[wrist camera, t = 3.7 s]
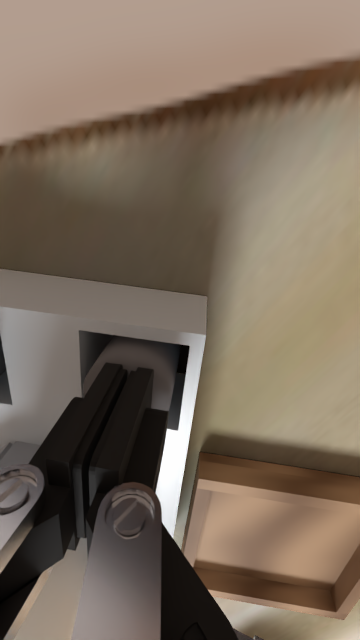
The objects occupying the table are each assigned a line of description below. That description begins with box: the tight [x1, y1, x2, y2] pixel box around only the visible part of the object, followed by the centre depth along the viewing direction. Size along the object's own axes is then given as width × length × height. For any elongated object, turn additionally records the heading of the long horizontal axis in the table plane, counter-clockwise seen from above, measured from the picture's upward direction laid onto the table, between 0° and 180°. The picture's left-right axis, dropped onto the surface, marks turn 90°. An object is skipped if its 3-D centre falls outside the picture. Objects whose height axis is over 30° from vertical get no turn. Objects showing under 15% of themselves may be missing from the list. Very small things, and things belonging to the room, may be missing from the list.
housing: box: [0, 269, 207, 538], centre depth 15 cm, size 12×18×6 cm, turn 174°
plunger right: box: [83, 335, 180, 411], centre depth 12 cm, size 3×3×4 cm
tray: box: [181, 452, 360, 620], centre depth 19 cm, size 12×12×2 cm
